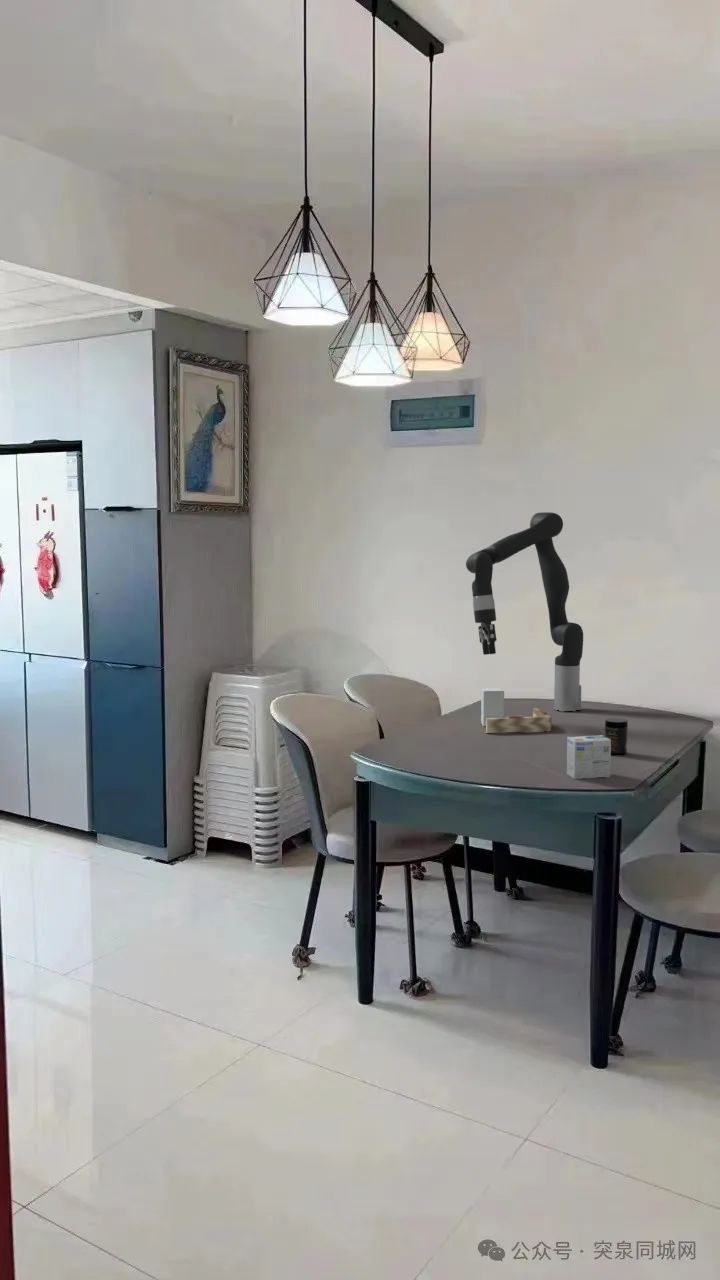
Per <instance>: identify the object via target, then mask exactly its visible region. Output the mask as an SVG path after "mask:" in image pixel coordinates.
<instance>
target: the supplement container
mask: <svg viewBox="0 0 720 1280" xmlns="http://www.w3.org/2000/svg"><path fill="white" fill-rule="evenodd" d="M628 726H629V720H628V719H626V718H620V717H608V718H605V720H604V737H606V738H608V739H610V740H611V756H613V755H622V756H625V755H627V753H628V735H629V734H628V733H629V732H628V729H629V727H628Z"/></svg>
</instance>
